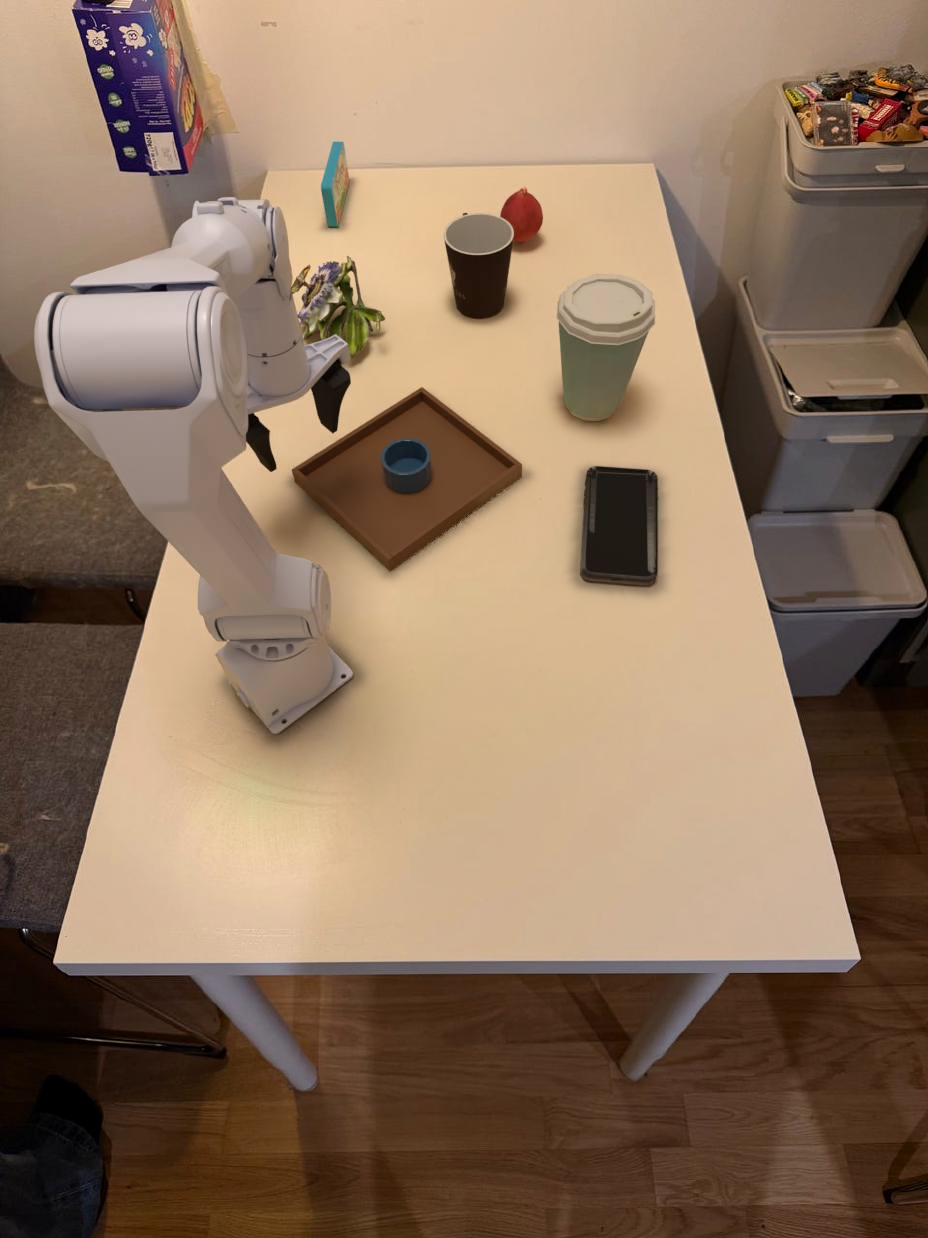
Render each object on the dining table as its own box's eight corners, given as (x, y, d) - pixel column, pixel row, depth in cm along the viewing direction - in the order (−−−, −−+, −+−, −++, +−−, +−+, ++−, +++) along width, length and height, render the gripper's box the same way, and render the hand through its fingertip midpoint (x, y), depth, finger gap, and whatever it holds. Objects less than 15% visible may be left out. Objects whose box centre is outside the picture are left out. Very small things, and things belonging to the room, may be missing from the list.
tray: (390, 571, 88) (388, 559, 86) (294, 481, 95) (291, 469, 93) (522, 476, 94) (522, 464, 93) (423, 399, 102) (421, 386, 100)
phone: (657, 470, 93) (657, 580, 85) (656, 477, 94) (655, 587, 86) (586, 465, 93) (579, 574, 85) (585, 472, 94) (578, 580, 86)
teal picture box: (339, 181, 128) (333, 139, 122) (349, 181, 128) (343, 139, 122) (327, 227, 121) (320, 186, 116) (338, 228, 121) (331, 186, 116)
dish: (405, 502, 92) (402, 482, 90) (374, 475, 95) (371, 455, 92) (442, 476, 94) (440, 456, 91) (411, 450, 96) (408, 430, 94)
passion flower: (321, 364, 114) (291, 271, 109) (398, 343, 112) (371, 248, 108) (306, 375, 103) (272, 273, 99) (390, 351, 102) (360, 247, 97)
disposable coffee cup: (530, 399, 101) (535, 291, 88) (595, 359, 104) (609, 250, 92) (591, 448, 96) (605, 341, 84) (657, 405, 100) (680, 296, 87)
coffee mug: (506, 327, 108) (507, 257, 100) (441, 320, 109) (436, 251, 101) (521, 272, 114) (523, 202, 106) (459, 266, 115) (456, 196, 107)
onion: (495, 251, 117) (495, 195, 110) (506, 227, 120) (507, 172, 113) (535, 257, 116) (538, 202, 109) (545, 233, 119) (549, 177, 112)
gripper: (308, 279, 78) (332, 391, 89) (173, 352, 73) (217, 461, 84) (355, 314, 75) (373, 425, 86) (218, 393, 70) (257, 500, 81)
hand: (299, 445), depth 85 cm, fingers open, 7 cm apart
